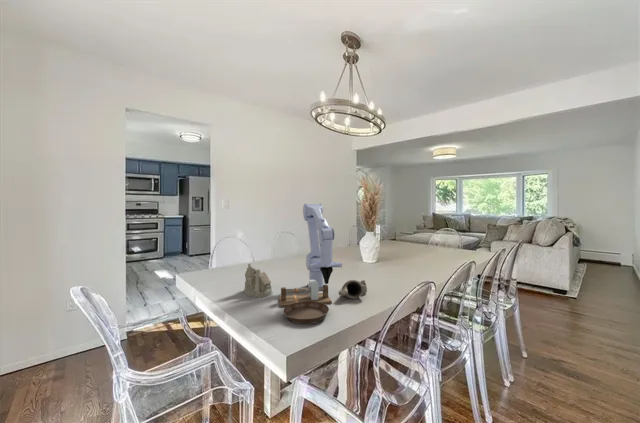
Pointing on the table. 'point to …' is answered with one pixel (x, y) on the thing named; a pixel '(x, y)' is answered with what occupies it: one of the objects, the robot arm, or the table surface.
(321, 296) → the rod stand
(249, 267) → the ceramic cottage
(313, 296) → the collar
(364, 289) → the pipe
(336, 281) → the table surface
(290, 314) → the plant saucer
